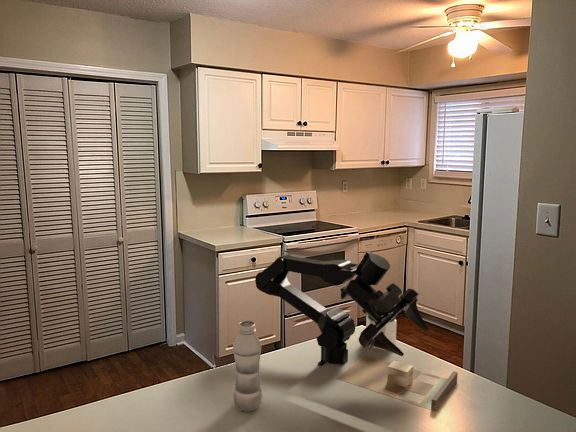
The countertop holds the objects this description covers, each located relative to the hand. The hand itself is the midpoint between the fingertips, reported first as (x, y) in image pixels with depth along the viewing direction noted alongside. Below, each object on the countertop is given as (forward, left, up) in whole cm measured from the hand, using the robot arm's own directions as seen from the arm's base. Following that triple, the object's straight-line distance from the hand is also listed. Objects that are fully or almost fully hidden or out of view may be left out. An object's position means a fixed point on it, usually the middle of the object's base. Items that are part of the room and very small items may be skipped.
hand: (415, 342), depth 113 cm
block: (-3, 0, -11) cm, 11 cm away
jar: (-17, +18, -13) cm, 27 cm away
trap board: (-4, 0, -12) cm, 13 cm away
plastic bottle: (-28, -29, -13) cm, 42 cm away
